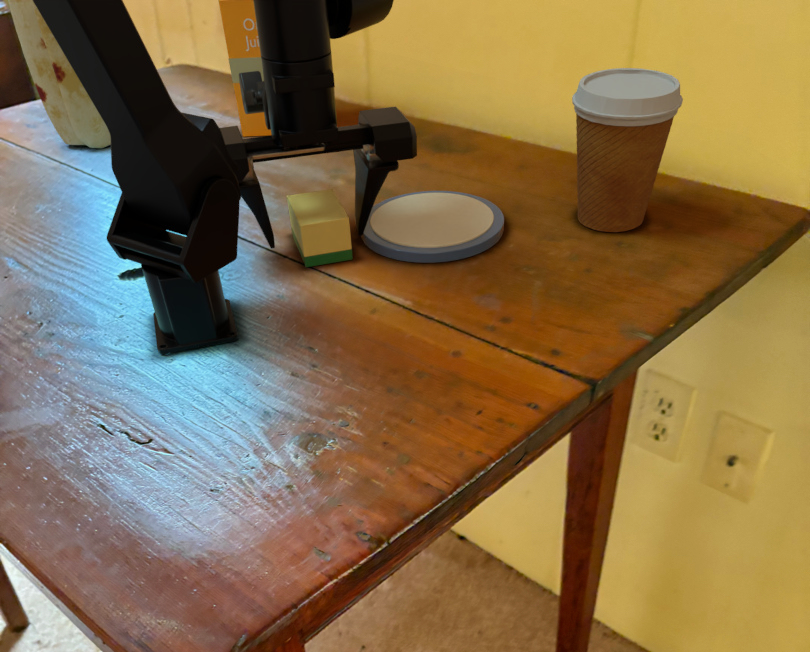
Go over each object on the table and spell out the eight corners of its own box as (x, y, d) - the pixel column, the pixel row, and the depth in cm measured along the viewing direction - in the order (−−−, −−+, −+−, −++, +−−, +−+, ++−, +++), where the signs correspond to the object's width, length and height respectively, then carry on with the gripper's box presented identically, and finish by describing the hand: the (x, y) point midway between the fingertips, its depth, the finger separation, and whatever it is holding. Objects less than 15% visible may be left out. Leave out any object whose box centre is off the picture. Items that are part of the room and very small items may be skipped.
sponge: (353, 259, 75) (349, 217, 72) (305, 267, 74) (299, 225, 71) (337, 229, 80) (332, 188, 77) (292, 236, 79) (286, 195, 76)
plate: (525, 248, 75) (526, 235, 74) (380, 273, 73) (379, 261, 72) (476, 191, 84) (476, 180, 84) (346, 212, 82) (345, 200, 81)
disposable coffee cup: (678, 214, 78) (706, 78, 70) (625, 249, 74) (648, 108, 65) (596, 190, 83) (612, 60, 75) (541, 222, 78) (551, 87, 70)
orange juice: (312, 133, 99) (288, -68, 85) (241, 137, 99) (206, -63, 85) (318, 112, 104) (296, -80, 90) (251, 115, 105) (219, -76, 90)
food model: (133, 128, 103) (81, -64, 89) (137, 145, 99) (83, -54, 85) (55, 139, 102) (-11, -55, 87) (55, 158, 97) (-14, -44, 83)
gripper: (382, 19, 72) (389, 194, 83) (172, 40, 69) (208, 220, 80) (417, 50, 64) (420, 239, 76) (182, 76, 61) (221, 269, 72)
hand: (316, 240), depth 76 cm, fingers open, 8 cm apart
